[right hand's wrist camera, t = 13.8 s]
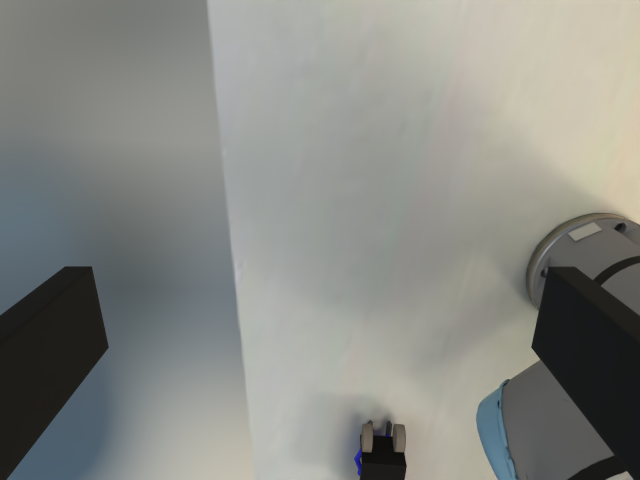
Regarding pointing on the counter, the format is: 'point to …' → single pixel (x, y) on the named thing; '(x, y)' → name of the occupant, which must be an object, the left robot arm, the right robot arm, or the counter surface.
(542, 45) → the counter surface
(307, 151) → the counter surface
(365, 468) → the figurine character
